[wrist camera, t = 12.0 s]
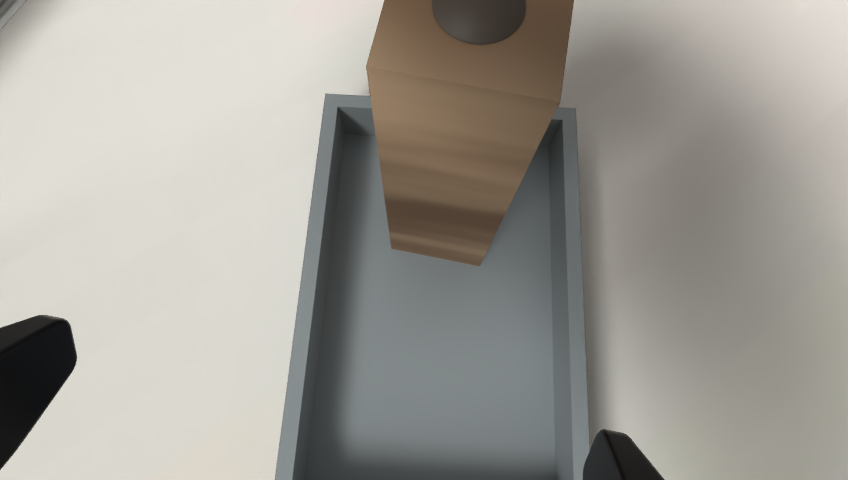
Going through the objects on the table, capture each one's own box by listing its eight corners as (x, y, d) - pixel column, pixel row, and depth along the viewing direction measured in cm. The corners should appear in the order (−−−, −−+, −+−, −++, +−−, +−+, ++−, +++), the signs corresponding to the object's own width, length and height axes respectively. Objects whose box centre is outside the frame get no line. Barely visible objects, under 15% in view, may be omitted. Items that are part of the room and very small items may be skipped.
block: (479, 266, 23) (560, 100, 10) (391, 248, 23) (366, 65, 10) (493, 184, 24) (581, -52, 11) (409, 168, 24) (406, -82, 12)
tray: (567, 527, 20) (593, 547, 17) (288, 511, 20) (268, 529, 17) (557, 141, 25) (575, 108, 22) (335, 128, 25) (325, 93, 22)
